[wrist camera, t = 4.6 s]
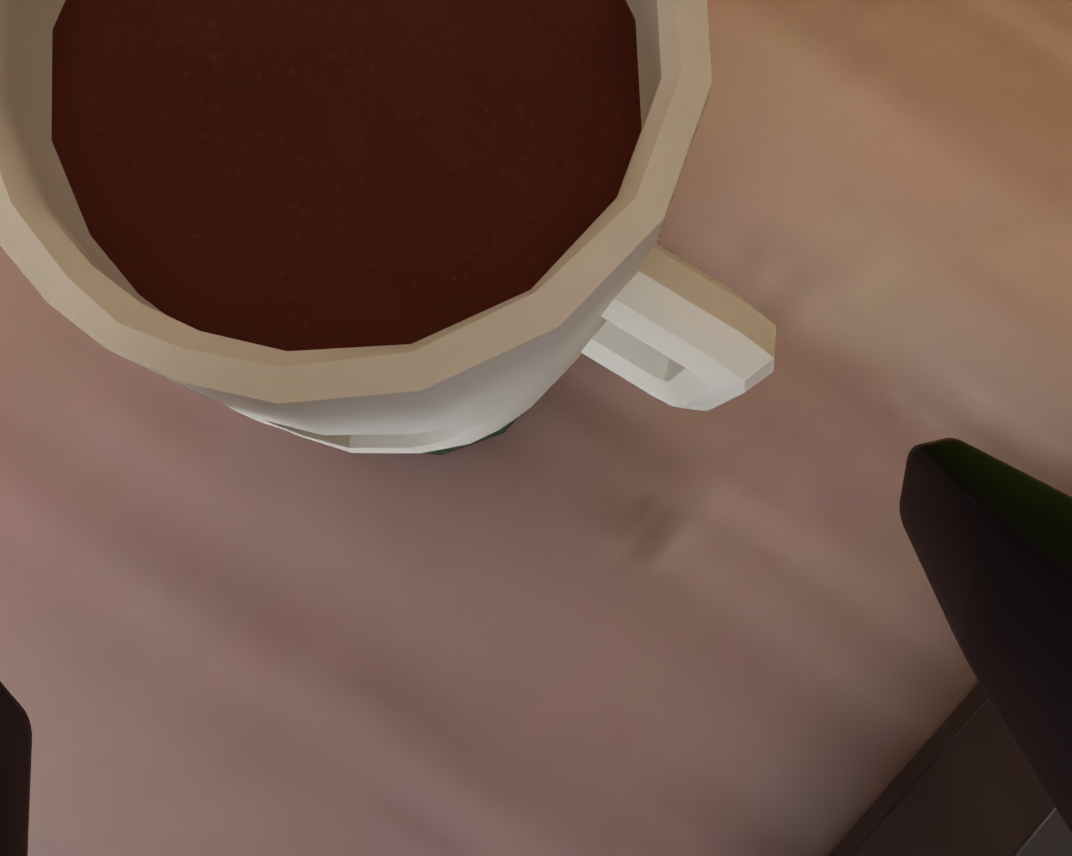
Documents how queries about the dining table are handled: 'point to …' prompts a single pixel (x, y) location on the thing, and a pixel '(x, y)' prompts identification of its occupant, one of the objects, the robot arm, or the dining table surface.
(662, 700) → the dining table surface
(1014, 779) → the tray
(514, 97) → the coffee mug
